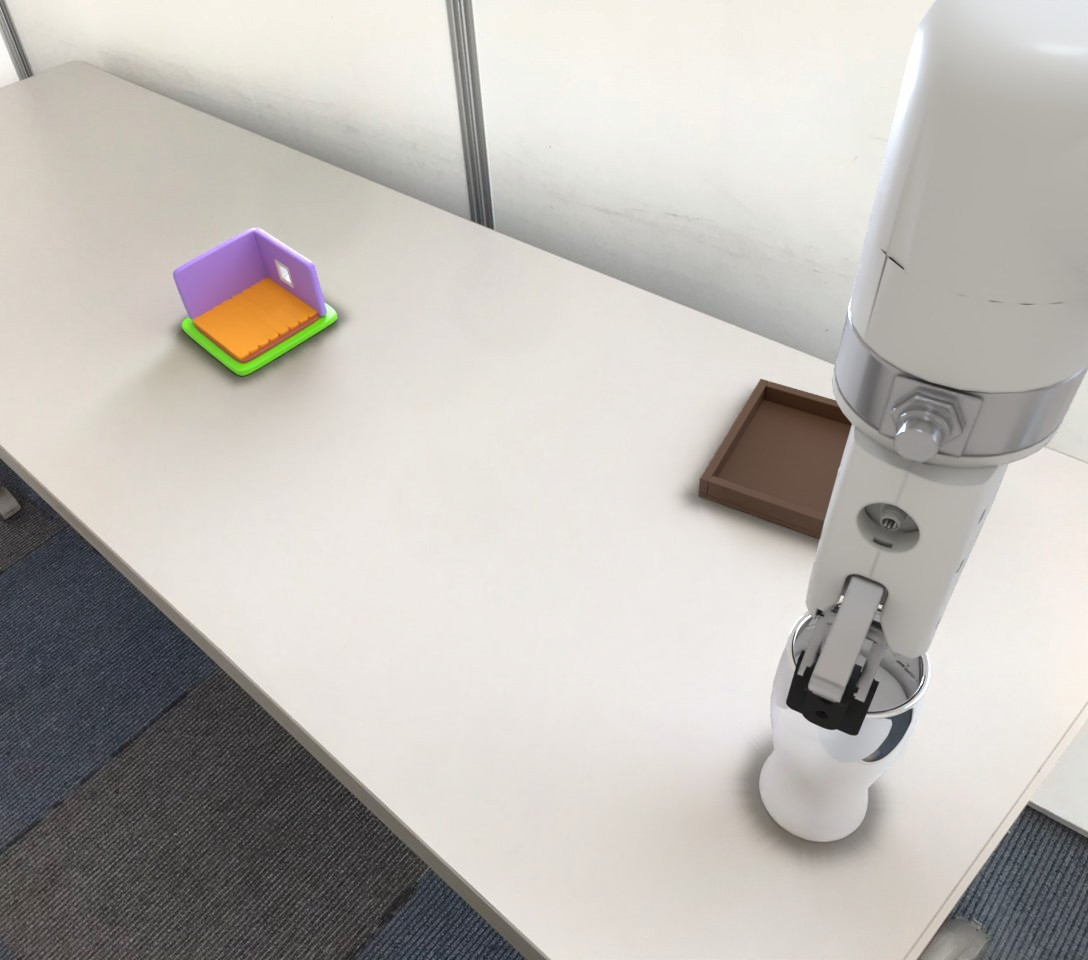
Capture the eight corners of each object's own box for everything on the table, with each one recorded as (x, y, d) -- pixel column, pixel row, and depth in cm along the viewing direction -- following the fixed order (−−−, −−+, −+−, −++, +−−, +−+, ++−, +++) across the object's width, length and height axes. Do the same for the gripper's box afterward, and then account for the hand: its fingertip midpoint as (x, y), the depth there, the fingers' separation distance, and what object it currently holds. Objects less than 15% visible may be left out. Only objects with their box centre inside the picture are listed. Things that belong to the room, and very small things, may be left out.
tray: (913, 442, 76) (919, 423, 74) (863, 554, 69) (868, 536, 68) (757, 396, 81) (760, 378, 80) (697, 496, 75) (699, 478, 73)
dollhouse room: (275, 272, 102) (258, 215, 97) (343, 318, 95) (328, 259, 90) (178, 328, 98) (154, 271, 93) (241, 380, 91) (220, 322, 86)
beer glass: (799, 718, 61) (840, 574, 50) (899, 795, 57) (966, 657, 46) (726, 789, 59) (752, 654, 48) (825, 876, 55) (878, 749, 44)
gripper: (1014, 581, 27) (882, 830, 40) (1122, 251, 36) (987, 538, 49) (754, 490, 31) (708, 746, 43) (913, 208, 40) (836, 487, 52)
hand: (856, 635), depth 46 cm, fingers open, 9 cm apart
